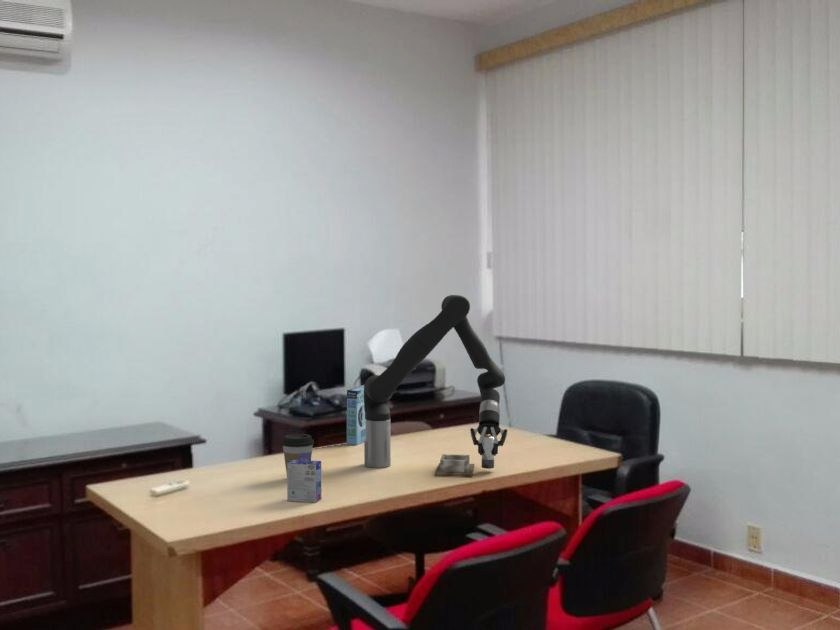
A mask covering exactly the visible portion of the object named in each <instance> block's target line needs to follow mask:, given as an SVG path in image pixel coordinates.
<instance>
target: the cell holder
mask: <svg viewBox="0 0 840 630" xmlns="http://www.w3.org/2000/svg"><path fill="white" fill-rule="evenodd" d="M473 469H474V470H475V464H474V463H470V454H445V453H444V454H441V458H440V460H439V463H438V465H437V467H436V469H435V472H434V476H435V477H450V476H468V477H467V478H472V477H473V475H474V474H473V473H474V470H473Z"/></svg>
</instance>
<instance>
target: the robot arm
mask: <svg viewBox="0 0 840 630" xmlns="http://www.w3.org/2000/svg"><path fill="white" fill-rule="evenodd" d="M440 307H441V308H440V309H441V311H440V312H439V313H438V314H437V316H435V317H434V318H433V319H432V320H430V322H429V323H427V324H425V325H423V327H421V328H420V329H418V330H417V331H416V332H415V333H413V334H412V335H411V336H410V337H409V338H408V340H407V341H405V342H404V344H403V345H402V346H401V347H400V349H399V351H398V352H397V354H396V356H395V357H394V359H393V361H392V363H390V365H389V366H388V367H387V368H386V369H385V370H383V372H381V373H380V374H377V375H376V374H374V375H371V376H369V377H368V378H367V379H366V381H364V384H365V385H364V384H363V385H364V410H365V418H366V440H365V441H364V449H363V450H364V457H363V458H364V460H363V461H364V467H367V468H373V469H374V468H376V469H378V468H379V469H381V468H387V467H390V466H391V460H392V459H391V453H392V452H391V445H392V444H391V410H390V406H389V405H390V404H389V398H390V397H391V396H392V395H394V392H395V391H396V390H397V388H398V387H399V386H400V385H401V383H402V382H403V381H404V380H405V379H406V377H407V376H408V375H409V374H411V372H412V371H414V370H415V368H417V367H418V366H419V365H420V364H421V363H422V362H423V361H424V360H425V358H427V357H428V356H429V354H430V353H431V352H432V351H433V350H434V349H435V348H436V346H438V344H439V343H440V342H441V341H443V339H444V338H445V337H446V335H447V334H448V333H449V332H450V331H451V330H452V329H453V330H454V331H455V332H456V333H457V336H458V337H459V339H460V341H461V343H462V346H463V347H464V349H465V351H466V353H467V355H468V358H469V359H470V361H471V363H472V365H473V367H474V368H475V369H476V370H480V369H481V370H482V369H483V370H486V371H485V372H481V373H480V374H479V375H478V376H477V379H476V382H477V386H478V389H479V393H480V405H479V414H478V426H477V428H473V427H471V428H470V430H469V431H470V437H471V440H472V443H473V445H474V446H477V453H478V454H479V455H480V456H482V436H485V434H491V436H494V457H496V456H497V455H498V453H499V447H503V446H504V444H505V442H506V439H507V438H508V437H507V436H508V430H507V429H501V426H500V420H501V419H500V418H501V410H500V409H501V408H500V400H501V399H500V397H501V396H500V392H499V391H498V390H496V389H497V388H500V387H502V386H503V385H504V384H505V382H506V378H505V377H506V376H505V374H504V372H503V371H502V369H501V368H500V366H498V365H497V364H496V363H495V361H494V360H493V358H492V357H490V354H489V352H488V350H487V348H486V346H485V344H484V342H483V341H482V339H481V338H480V337H479V335H478V334H477V332H476V331H475V330H474V329H473V327H472V324H471V323H470V321H469V319H468V314H469V313H470V309H471V304H470V301H469V300H468V298H467V297H465V296H463V295H460V294H449V295H447V296H445V297H444V299H443V300H442V302H441V306H440ZM477 433H478V434H479V439H477ZM498 435H501V437H500V439H499V440H498V437H497V436H498Z"/></svg>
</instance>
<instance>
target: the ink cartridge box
mask: <svg viewBox="0 0 840 630" xmlns="http://www.w3.org/2000/svg"><path fill="white" fill-rule="evenodd" d="M305 455H306V456H309V458H302V456H305ZM286 477H287V478H286V479H287V480H286V482H287V483H286V484H287V486H286V491H287V493H286V498H287V499H286V500H287V502H304V503H317V502H319V501H320V500H322V461H321V460H312V455H311V454H307V453H301V454H300V458H299V460H292V461H290V462H289V463H287V473H286Z"/></svg>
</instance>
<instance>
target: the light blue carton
mask: <svg viewBox="0 0 840 630" xmlns="http://www.w3.org/2000/svg"><path fill="white" fill-rule="evenodd" d="M364 385H365V383H363V384H362V385H359V386H356V387H353V388H350V389H347V390H346V445H347V446H348V445H349V446H358V445H360V444H362V443H363V442H364V441H365V440H366V418H365V410H364Z"/></svg>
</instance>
